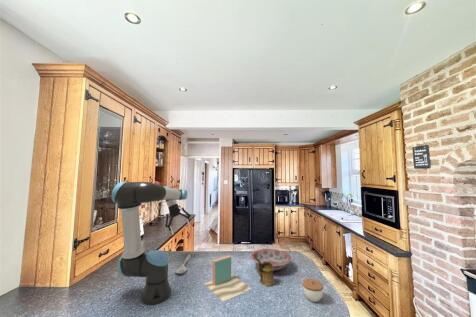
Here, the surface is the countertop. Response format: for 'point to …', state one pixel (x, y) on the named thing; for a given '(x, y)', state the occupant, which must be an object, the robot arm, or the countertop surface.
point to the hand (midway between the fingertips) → (181, 230)
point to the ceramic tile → (221, 270)
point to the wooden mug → (265, 273)
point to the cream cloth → (228, 288)
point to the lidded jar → (312, 289)
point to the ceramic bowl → (272, 258)
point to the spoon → (183, 265)
